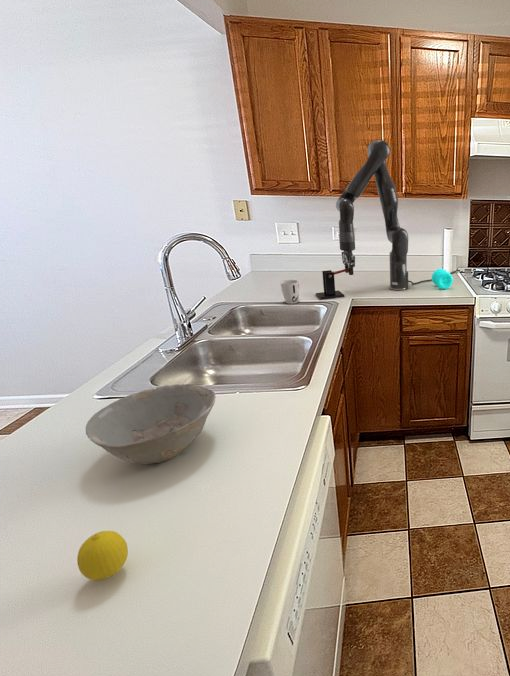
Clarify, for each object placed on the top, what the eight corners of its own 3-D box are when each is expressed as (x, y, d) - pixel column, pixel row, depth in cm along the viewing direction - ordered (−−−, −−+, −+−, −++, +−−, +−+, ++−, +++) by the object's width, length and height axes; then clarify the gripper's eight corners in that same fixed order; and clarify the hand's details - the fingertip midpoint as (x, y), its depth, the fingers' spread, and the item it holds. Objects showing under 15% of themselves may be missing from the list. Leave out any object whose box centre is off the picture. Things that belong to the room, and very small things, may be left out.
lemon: (82, 577, 59) (65, 537, 57) (126, 552, 64) (113, 513, 61) (92, 600, 56) (75, 559, 54) (138, 572, 60) (125, 532, 58)
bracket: (338, 292, 208) (337, 268, 204) (344, 297, 201) (342, 272, 197) (315, 295, 202) (313, 270, 198) (320, 300, 195) (318, 274, 190)
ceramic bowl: (74, 496, 74) (57, 452, 71) (128, 426, 95) (117, 389, 91) (207, 475, 80) (198, 434, 77) (231, 414, 101) (224, 379, 97)
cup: (294, 305, 186) (292, 284, 182) (279, 303, 187) (276, 283, 184) (304, 300, 193) (302, 280, 190) (289, 299, 195) (286, 279, 191)
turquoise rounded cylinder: (436, 290, 219) (436, 272, 215) (431, 285, 227) (431, 268, 224) (453, 289, 222) (453, 271, 218) (447, 284, 231) (447, 267, 227)
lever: (349, 269, 205) (348, 265, 204) (352, 271, 201) (351, 267, 200) (324, 277, 200) (323, 272, 199) (327, 279, 196) (326, 274, 195)
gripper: (359, 241, 193) (361, 275, 200) (349, 237, 205) (351, 270, 211) (344, 242, 190) (346, 277, 196) (335, 238, 201) (337, 271, 207)
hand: (349, 273), depth 203 cm, fingers closed on lever, 5 cm apart
